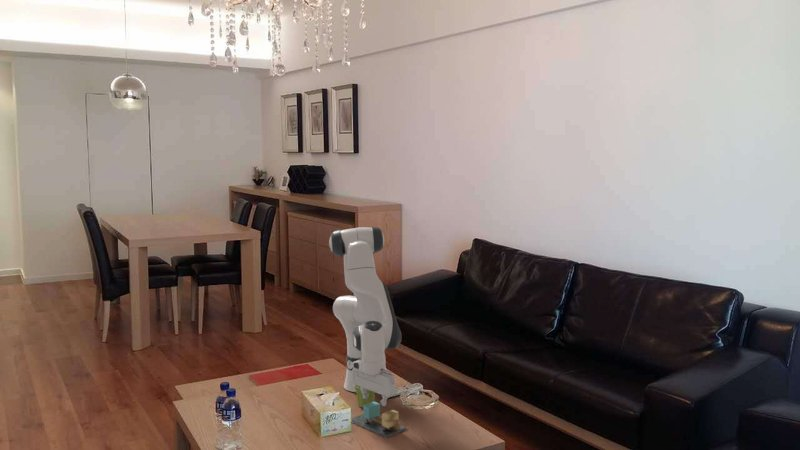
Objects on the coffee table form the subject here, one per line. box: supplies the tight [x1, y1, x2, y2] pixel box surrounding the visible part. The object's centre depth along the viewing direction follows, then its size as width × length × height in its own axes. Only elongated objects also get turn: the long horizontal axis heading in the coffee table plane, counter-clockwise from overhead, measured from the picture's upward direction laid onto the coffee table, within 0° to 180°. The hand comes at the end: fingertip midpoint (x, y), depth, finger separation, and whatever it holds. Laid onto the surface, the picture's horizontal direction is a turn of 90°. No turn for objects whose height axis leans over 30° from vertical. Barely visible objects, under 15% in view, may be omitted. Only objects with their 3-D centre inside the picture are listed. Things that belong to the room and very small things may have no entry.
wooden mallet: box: [361, 409, 402, 431], centre depth 247 cm, size 6×19×6 cm, turn 44°
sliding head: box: [362, 400, 381, 422], centre depth 249 cm, size 6×3×6 cm, turn 134°
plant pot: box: [354, 385, 376, 408], centre depth 267 cm, size 9×9×9 cm
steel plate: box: [351, 414, 407, 439], centre depth 247 cm, size 10×20×1 cm, turn 44°
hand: (374, 401), depth 249 cm, fingers open, 8 cm apart
